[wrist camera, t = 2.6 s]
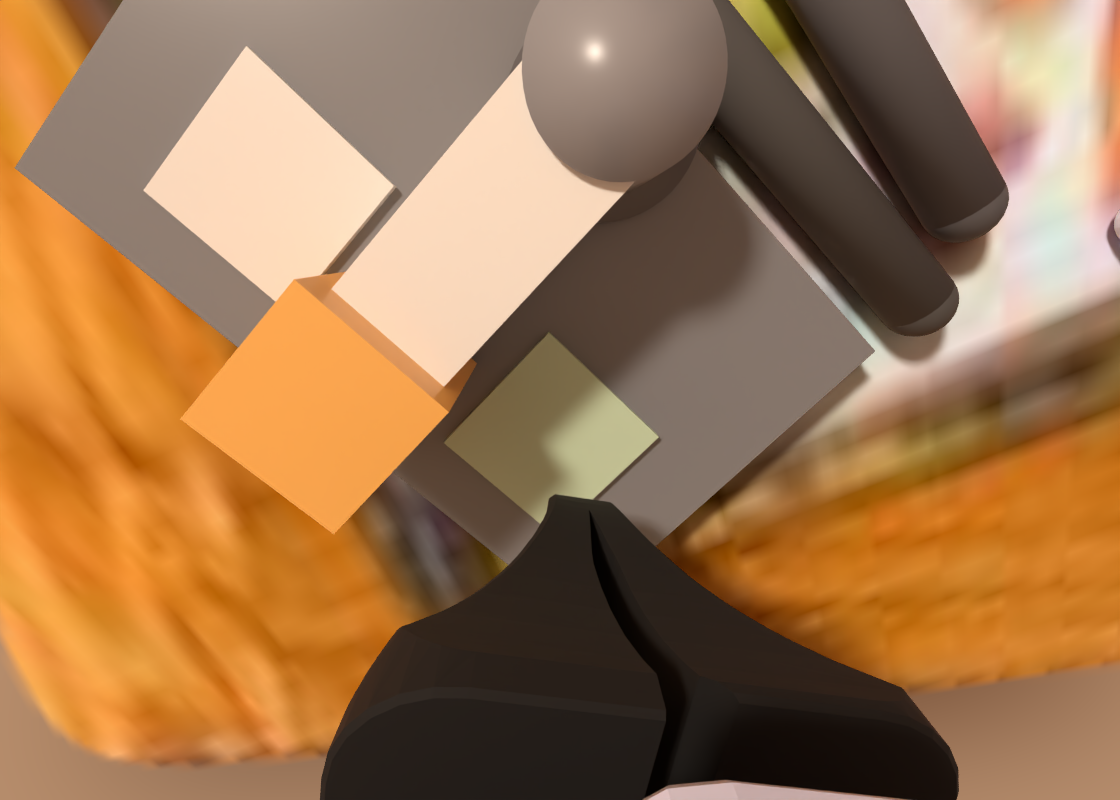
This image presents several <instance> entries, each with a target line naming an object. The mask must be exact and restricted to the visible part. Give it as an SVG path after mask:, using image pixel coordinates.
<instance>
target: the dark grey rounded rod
mask: <svg viewBox="0 0 1120 800" xmlns="http://www.w3.org/2000/svg"><path fill="white" fill-rule="evenodd" d="M785 1H786V2H787V4H788V5H789V7H790V9H791V10H792V12H793V14H794V15H795V17H796V19H797V20H798V22H799V24H800V25H801V27H802V28H803V30H804V32H805V33H806V35H807V37H808V38H809V40H810V42H811V43H812V45H813V47H814V48H815V50H816V52H817V53H818V55H819V56H820V58H821V60H822V61H823V63H824V65H825V66H826V68H827V70H828V71H829V73H830V75H831V76H832V78H833V79H834V81H835V83H836V84H837V86H838V88H839V89H840V91H841V93H842V94H843V96H844V98H845V99H846V101H847V102H848V104H849V106H850V107H851V109H852V111H853V112H854V114H855V116H856V117H857V119H858V121H859V122H860V124H861V126H862V127H863V129H864V130H865V132H866V134H867V135H868V137H869V139H870V140H871V142H872V144H873V145H874V147H875V149H876V150H877V152H878V153H879V155H880V157H881V158H882V160H883V162H884V163H885V165H886V167H887V168H888V170H889V172H890V173H891V175H892V176H893V178H894V180H895V181H896V183H897V185H898V186H899V188H900V190H901V191H902V193H903V195H904V196H905V198H906V199H907V201H908V203H909V204H910V206H911V208H912V209H913V211H914V213H915V214H916V216H917V218H918V219H919V221H920V223H921V224H922V226H923V227H924V229H925V230H926V231H927V232H928V233H929V234H930V235H931V236H933V237H934V238H937V239H939V240H941V241H945V242H952V243H953V242H965V241H969V240H973V239H976V238H978V237H980V236H982V235H984V234H986V233H987V232H988V231H990V230H991V229H992V228H993V227H995V226H996V225H997V224H998V222H999V221H1000V220H1001V218H1002V217H1003V215H1004V213H1005V211H1006V209H1007V206H1008V201H1009V193H1008V188H1007V185H1006V183H1005V181H1004V179H1003V177H1002V176H1001V174H1000V172H999V170H998V168H997V167H996V165H995V163H994V161H993V159H992V157H991V156H990V154H989V152H988V150H987V148H986V147H985V145H984V143H983V141H982V139H981V138H980V136H979V134H978V132H977V130H976V128H975V127H974V125H973V123H972V121H971V119H970V118H969V116H968V114H967V112H966V110H965V109H964V107H963V105H962V103H961V101H960V99H959V98H958V96H957V94H956V92H955V90H954V89H953V87H952V85H951V83H950V81H949V79H948V78H947V76H946V74H945V72H944V70H943V69H942V67H941V65H940V63H939V61H938V60H937V58H936V56H935V54H934V52H933V50H932V49H931V47H930V45H929V43H928V41H927V40H926V38H925V36H924V34H923V32H922V31H921V29H920V27H919V25H918V23H917V21H916V20H915V18H914V16H913V14H912V12H911V11H910V9H909V7H908V5H907V3H906V2H905V0H785Z"/></svg>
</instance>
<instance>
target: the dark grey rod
mask: <svg viewBox="0 0 1120 800" xmlns="http://www.w3.org/2000/svg"><path fill="white" fill-rule="evenodd" d="M713 2H714V4H715V6H716V8H717V10H718V13H719V15H720V18H721V21H722V24H723V28H724V32H725V36H726V43H727V52H728V69H727V78H726V85H725V89H724V94H723V98H722V101H721V104H720V106H719V109H718V112H717V114H716V116H715V118H714V120H713V122H712V124H713V125H714V127H715V128H716V129H717V130H718V131H719V132H720V134H721V135H722V136H723V137H724V138H725V139H726V140H727V142H728V143H729V144H730V145H731V146H732V147H733V149H734V150H735V151H736V152H737V153H738V154H739V156H740V157H741V158H742V159H743V160H744V161H745V163H746V164H747V165H748V166H749V167H750V168H751V170H752V171H753V172H754V173H755V174H756V175H757V177H758V178H759V179H760V180H761V181H762V182H763V184H764V185H765V186H766V187H767V188H768V189H769V191H770V192H771V193H772V194H773V195H774V196H775V198H776V199H777V200H778V201H779V202H780V203H781V205H782V206H783V207H784V208H785V209H786V210H787V212H788V213H789V214H790V215H791V216H792V217H793V218H794V220H795V221H796V222H797V223H798V224H799V225H800V227H801V228H802V229H803V230H804V231H805V232H806V234H807V235H808V236H809V237H810V238H811V239H812V241H813V242H814V243H815V244H816V245H817V246H818V248H819V249H820V250H821V251H822V252H823V253H824V255H825V256H826V257H827V258H828V259H829V260H830V262H831V263H832V264H833V265H834V266H835V267H836V269H837V270H838V271H839V272H840V273H841V274H842V276H843V277H844V278H845V279H846V280H847V281H848V283H849V284H850V285H851V286H852V287H853V288H854V290H855V291H856V292H857V293H858V294H859V295H860V296H861V298H862V299H863V300H864V301H865V302H866V303H867V305H868V306H869V307H870V308H871V309H872V310H873V312H874V313H875V314H876V315H877V316H878V317H879V319H880V320H881V321H882V322H883V323H884V324H885V325H886V326H887V327H888V328H889V329H890V330H892V331H894V332H896V333H898V334H901V335H904V336H923V335H928V334H931V333H933V332H936V331H938V330H939V329H941V328H942V327H944V326H945V325H946V324H947V323H948V322H949V321H950V320H951V319H952V317H953V316H954V315H955V313H956V310H957V307H958V304H959V293H958V289H957V287H956V285H955V283H954V281H953V280H952V279H951V277H950V276H949V275H948V274H947V272H946V271H945V270H944V269H943V267H942V266H941V265H940V264H939V262H938V261H937V260H936V259H935V257H934V256H933V255H932V254H931V252H930V251H929V250H928V249H927V247H926V246H925V245H924V244H923V242H922V241H921V240H920V239H919V237H918V236H917V235H916V234H915V232H914V231H913V230H912V229H911V227H910V226H909V225H908V224H907V222H906V221H905V220H904V219H903V217H902V216H901V215H900V214H899V212H898V211H897V210H896V209H895V207H894V206H893V205H892V204H891V202H890V201H889V200H888V199H887V197H886V196H885V195H884V194H883V192H882V191H881V190H880V189H879V187H878V186H877V185H876V184H875V182H874V181H873V180H872V179H871V177H870V176H869V175H868V174H867V172H866V171H865V170H864V169H863V167H862V166H861V165H860V164H859V162H858V161H857V160H856V159H855V157H854V156H853V155H852V154H851V152H850V151H849V150H848V149H847V147H846V146H845V145H844V144H843V142H842V141H841V140H840V139H839V137H838V136H837V135H836V134H835V132H834V131H833V130H832V129H831V127H830V126H829V125H828V124H827V122H826V121H825V120H824V119H823V117H822V116H821V115H820V114H819V112H818V111H817V110H816V109H815V107H814V106H813V105H812V104H811V102H810V101H809V100H808V99H807V97H806V96H805V95H804V94H803V92H802V91H801V90H800V89H799V87H798V86H797V85H796V84H795V82H794V81H793V80H792V79H791V77H790V76H789V75H788V74H787V72H786V71H785V70H784V69H783V67H782V66H781V65H780V64H779V62H778V61H777V60H776V59H775V57H774V56H773V55H772V54H771V52H770V51H769V50H768V49H767V47H766V46H765V45H764V44H763V42H762V41H761V40H760V39H759V37H758V36H757V35H756V34H755V32H754V31H753V30H752V29H751V27H750V26H749V25H748V24H747V22H746V21H745V20H744V19H743V17H742V16H741V15H740V14H739V12H738V11H737V10H736V9H735V7H734V6H733V5H732V4H731V2H730V1H729V0H713Z"/></svg>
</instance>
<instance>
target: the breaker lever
mask: <svg viewBox="0 0 1120 800" xmlns="http://www.w3.org/2000/svg"><path fill="white" fill-rule="evenodd" d="M727 69H728V52H727V43H726V36H725V32H724V28H723V24H722V21H721V18H720V15H719V13H718V10H717V8H716V6H715V4H714V2H713V0H540V1H539V3H538V5H537V6H536V8H535V10H534V12H533V15H532V17H531V20H530V22H529V25H528V28H527V32H526V36H525V40H524V46H523V53H522V61H521V62H520V63H519V65H518V66H517V67H516V68H515V69H514V71H513V72H512V73H511V74H510V75H509V77H508V78H507V79H506V80H505V81H504V83H503V84H502V85H501V86H500V87H499V89H498V90H497V91H496V92H495V93H494V95H493V96H492V97H491V98H490V99H489V101H488V102H487V103H486V104H485V105H484V107H483V108H482V109H481V110H480V111H479V113H478V114H477V115H476V116H475V117H474V119H473V120H472V121H471V122H470V123H469V125H468V126H467V127H466V128H465V129H464V131H463V132H462V133H461V134H460V135H459V137H458V138H457V139H456V140H455V141H454V143H453V144H452V145H451V146H450V147H449V149H448V150H447V151H446V152H445V153H444V155H443V156H442V157H441V158H440V159H439V161H438V162H437V163H436V164H435V165H434V167H433V168H432V169H431V170H430V171H429V173H428V174H427V175H426V176H425V177H424V179H423V180H422V181H421V182H420V183H419V184H418V186H417V187H416V188H415V189H414V190H413V192H412V193H411V194H410V195H409V196H408V198H407V199H406V200H405V201H404V202H403V204H402V205H401V206H400V207H399V208H398V210H397V211H396V212H395V213H394V214H393V216H392V217H391V218H390V219H389V220H388V222H387V223H386V224H385V225H384V226H383V228H382V229H381V230H380V231H379V232H378V234H377V235H376V236H375V237H374V238H373V240H372V241H371V242H370V243H369V244H368V246H367V247H366V248H365V249H364V250H363V252H362V253H361V254H360V255H359V256H358V258H357V259H356V260H355V261H354V262H353V264H352V265H351V266H350V267H349V268H348V270H347V271H346V272H340V273H333V274H326V275H319V276H313V277H306V278H299V279H294V280H293V281H292V282H291V284H290V285H289V286H288V287H287V288H286V290H285V291H284V292H283V293H282V295H281V296H280V297H279V298H278V300H277V301H276V302H275V303H274V304H273V306H272V307H271V308H270V309H269V311H268V312H267V313H266V314H265V316H264V317H263V318H262V319H261V320H260V322H259V323H258V324H257V325H256V327H255V328H254V329H253V330H252V331H251V333H250V334H249V335H248V336H247V338H246V339H245V340H244V341H243V343H242V344H241V345H240V346H239V347H238V349H237V350H236V351H235V352H234V354H233V355H232V356H231V357H230V359H229V360H228V361H227V362H226V363H225V365H224V366H223V367H222V368H221V370H220V371H219V372H218V373H217V375H216V376H215V377H214V378H213V379H212V381H211V382H210V383H209V384H208V386H207V387H206V388H205V389H204V391H203V392H202V393H201V394H200V395H199V397H198V398H197V399H196V400H195V402H194V403H193V404H192V405H191V407H190V408H189V409H188V410H187V411H186V413H185V414H184V415H183V416H182V418H181V420H182V421H184V422H185V423H186V424H188V425H189V426H190V427H192V428H193V429H194V430H196V431H197V432H198V433H200V434H201V435H202V436H204V437H205V438H206V439H208V440H209V441H210V442H212V443H213V444H214V445H216V446H217V447H218V448H220V449H221V450H222V451H224V452H225V453H226V454H228V455H229V456H230V457H232V458H233V459H234V460H236V461H237V462H238V463H240V464H241V465H242V466H244V467H245V468H246V469H248V470H249V471H250V472H252V473H253V474H254V475H256V476H257V477H258V478H260V479H261V480H262V481H264V482H265V483H266V484H268V485H269V486H270V487H271V488H273V489H274V490H275V491H277V492H278V493H279V494H281V495H282V496H283V497H285V498H286V499H287V500H289V501H290V502H291V503H293V504H294V505H295V506H297V507H298V508H299V509H301V510H302V511H303V512H305V513H306V514H307V515H309V516H310V517H311V518H313V519H314V520H315V521H317V522H318V523H319V524H321V525H322V526H323V527H325V528H326V529H327V530H329V531H330V532H331V533H333V534H334V533H335V532H336V531H337V530H338V529H339V528H340V527H341V526H342V525H343V524H344V523H345V522H346V521H347V520H348V519H349V517H350V516H351V515H352V514H353V513H354V512H355V511H356V510H357V509H358V508H359V507H360V506H361V505H362V504H363V503H364V502H365V501H366V499H367V498H368V497H369V496H370V495H371V494H372V493H373V492H374V491H375V490H376V489H377V488H378V487H379V486H380V485H381V484H382V483H383V482H384V480H385V479H386V478H387V477H388V476H389V475H390V474H391V473H392V472H393V471H394V470H395V469H396V468H397V467H398V466H399V465H400V464H401V462H402V461H403V460H404V459H405V458H406V457H407V456H408V455H409V454H410V453H411V452H412V451H413V450H414V449H415V448H416V447H417V446H418V444H419V443H420V442H421V441H422V440H423V439H424V438H425V437H426V436H427V435H428V434H429V433H430V432H431V431H432V430H433V429H434V428H435V427H436V425H437V424H438V423H439V422H440V421H441V420H442V419H443V418H444V417H445V416H446V415H447V414H448V413H449V411H450V410H451V408H452V406H453V404H454V403H455V401H456V399H457V398H458V396H459V394H460V392H461V391H462V389H463V387H464V385H465V384H466V382H467V380H468V378H469V377H470V375H471V373H472V372H473V370H474V368H475V366H476V365H477V363H476V362H475V361H474V360H473V359H472V358H471V357H472V356H473V355H474V354H475V353H476V352H477V351H478V350H479V348H480V347H481V346H482V345H483V344H484V343H485V342H486V341H487V340H488V339H489V338H490V337H491V336H492V335H493V333H494V332H495V331H496V330H497V329H498V328H499V327H500V326H501V325H502V324H503V323H504V322H505V321H506V320H507V318H508V317H509V316H510V315H511V314H512V313H513V312H514V311H515V310H516V309H517V308H518V307H519V306H520V304H521V303H522V302H523V301H524V300H525V299H526V298H527V297H528V296H529V295H530V294H531V293H532V292H533V291H534V289H535V288H536V287H537V286H538V285H539V284H540V283H541V282H542V281H543V280H544V279H545V278H546V277H547V275H548V274H549V273H550V272H551V271H552V270H553V269H554V268H555V267H556V266H557V265H558V264H559V263H560V262H561V260H562V259H563V258H564V257H565V256H566V255H567V254H568V253H569V252H570V251H571V250H572V249H573V248H574V246H575V245H576V244H577V243H578V242H579V241H580V240H581V239H582V238H583V237H584V236H585V235H586V234H587V233H588V231H589V230H590V229H591V228H592V227H593V226H594V225H595V224H596V223H597V222H598V221H599V220H600V219H601V217H602V216H603V215H604V214H605V213H606V212H607V211H608V210H609V209H610V208H611V207H612V206H613V205H614V204H615V202H616V201H617V200H618V199H619V198H620V197H621V196H622V195H623V194H624V193H626V192H629V191H632V190H633V189H635V188H637V187H639V186H641V185H642V184H644V183H646V182H647V181H649V180H651V179H652V178H654V177H655V176H657V175H659V174H660V173H662V172H664V171H665V170H667V169H669V168H670V167H672V166H673V165H675V164H676V163H678V162H679V161H680V160H682V159H683V158H684V157H685V156H686V155H688V154H689V153H690V152H691V151H692V150H693V149H694V148H695V147H696V145H697V144H698V143H699V142H700V141H701V139H702V138H703V137H704V135H705V134H706V132H707V131H708V129H709V128H710V126H711V124H712V122H713V120H714V118H715V116H716V114H717V112H718V109H719V106H720V104H721V101H722V98H723V94H724V89H725V85H726V78H727Z"/></svg>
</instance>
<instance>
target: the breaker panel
mask: <svg viewBox="0 0 1120 800" xmlns="http://www.w3.org/2000/svg"><path fill="white" fill-rule="evenodd" d="M539 1H540V0H123V1H122V3H121V4H120V6H119V8H118V9H117V11H116V12H115V14H114V15H113V17H112V18H111V20H110V21H109V23H108V25H107V26H106V28H105V29H104V31H103V32H102V34H101V35H100V37H99V38H98V40H97V42H96V43H95V45H94V46H93V48H92V49H91V51H90V52H89V54H88V55H87V57H86V59H85V60H84V62H83V63H82V65H81V66H80V68H79V69H78V71H77V72H76V74H75V76H74V77H73V79H72V80H71V82H70V83H69V85H68V86H67V88H66V89H65V91H64V93H63V94H62V96H61V97H60V99H59V100H58V102H57V103H56V105H55V106H54V108H53V109H52V111H51V113H50V114H49V116H48V117H47V119H46V120H45V122H44V123H43V125H42V126H41V128H40V130H39V131H38V133H37V134H36V136H35V137H34V139H33V140H32V142H31V143H30V145H29V147H28V148H27V150H26V151H25V153H24V154H23V156H22V157H21V159H20V160H19V162H18V164H17V165H16V167H15V169H17V170H18V171H19V172H20V173H22V174H23V175H24V176H25V177H27V178H28V179H29V180H30V181H32V182H33V183H34V184H35V185H37V186H38V187H39V188H40V189H42V190H43V191H44V192H45V193H47V194H48V195H49V196H50V197H52V198H53V199H54V200H55V201H57V202H58V203H59V204H60V205H62V206H63V207H64V208H65V209H66V210H68V211H69V212H70V213H71V214H73V215H74V216H75V217H76V218H78V219H79V220H80V221H81V222H83V223H84V224H85V225H86V226H88V227H89V228H90V229H91V230H93V231H94V232H95V233H96V234H98V235H99V236H100V237H101V238H103V239H104V240H105V241H106V242H108V243H109V244H110V245H111V246H113V247H114V248H115V249H116V250H117V251H119V252H120V253H121V254H122V255H124V256H125V257H126V258H127V259H129V260H130V261H131V262H132V263H134V264H135V265H136V266H137V267H139V268H140V269H141V270H142V271H144V272H145V273H146V274H147V275H149V276H150V277H151V278H152V279H154V280H155V281H156V282H157V283H159V284H160V285H161V286H162V287H164V288H165V289H166V290H167V291H168V292H170V293H171V294H172V295H173V296H175V297H176V298H177V299H178V300H180V301H181V302H182V303H183V304H185V305H186V306H187V307H188V308H190V309H191V310H192V311H193V312H195V313H196V314H197V315H198V316H200V317H201V318H202V319H203V320H205V321H206V322H207V323H208V324H210V325H211V326H212V327H213V328H215V329H216V330H217V331H218V332H219V333H221V334H222V335H223V336H224V337H226V338H227V339H228V340H229V341H231V342H232V343H233V344H234V345H236V346H237V347H239V346H240V345H241V344H242V343H243V341H244V340H245V339H246V338H247V336H248V335H249V334H250V333H251V331H252V330H253V329H254V328H255V327H256V325H257V324H258V323H259V322H260V320H261V319H262V318H263V317H264V316H265V314H266V313H267V312H268V311H269V309H270V308H271V307H272V306H273V304H274V303H275V302H276V301H277V300H278V298H279V297H280V296H281V295H282V293H283V292H284V291H285V290H286V288H287V287H288V286H289V285H290V284H291V282H292V281H293V280H294V279H299V278H306V277H313V276H319V275H326V274H333V273H340V272H346V271H347V270H348V268H349V267H350V266H351V265H352V264H353V262H354V261H355V260H356V259H357V258H358V256H359V255H360V254H361V253H362V252H363V250H364V249H365V248H366V247H367V246H368V244H369V243H370V242H371V241H372V240H373V238H374V237H375V236H376V235H377V234H378V232H379V231H380V230H381V229H382V228H383V226H384V225H385V224H386V223H387V222H388V220H389V219H390V218H391V217H392V216H393V214H394V213H395V212H396V211H397V210H398V208H399V207H400V206H401V205H402V204H403V202H404V201H405V200H406V199H407V198H408V196H409V195H410V194H411V193H412V192H413V190H414V189H415V188H416V187H417V186H418V184H419V183H420V182H421V181H422V180H423V179H424V177H425V176H426V175H427V174H428V173H429V171H430V170H431V169H432V168H433V167H434V165H435V164H436V163H437V162H438V161H439V159H440V158H441V157H442V156H443V155H444V153H445V152H446V151H447V150H448V149H449V147H450V146H451V145H452V144H453V143H454V141H455V140H456V139H457V138H458V137H459V135H460V134H461V133H462V132H463V131H464V129H465V128H466V127H467V126H468V125H469V123H470V122H471V121H472V120H473V119H474V117H475V116H476V115H477V114H478V113H479V111H480V110H481V109H482V108H483V107H484V105H485V104H486V103H487V102H488V101H489V99H490V98H491V97H492V96H493V95H494V93H495V92H496V91H497V90H498V89H499V87H500V86H501V85H502V84H503V83H504V81H505V80H506V79H507V78H508V77H509V75H510V74H511V73H512V72H513V71H514V69H515V68H516V67H517V66H518V65H519V63H520V62H521V61H522V53H523V46H524V40H525V36H526V32H527V28H528V25H529V22H530V20H531V17H532V15H533V12H534V10H535V8H536V6H537V5H538V3H539ZM698 145H699V143H698V144H697V145H696V147H695V148H694V149H693V150H692V151H691V152H690V153H689V154H688V155H686V156H685V157H684V158H683V159H682V160H680V161H679V162H678V163H676V164H675V165H673V166H672V167H670V168H669V169H667V170H665V171H664V172H662V173H660V174H659V175H657V176H655V177H654V178H652V179H651V180H649V181H647V182H646V183H644V184H642V185H641V186H639V187H637V188H635V189H633V190H632V191H629V192H626V193H624V194H623V195H622V196H621V197H620V198H619V199H618V200H617V201H616V202H615V204H614V205H613V206H612V207H611V208H610V209H609V210H608V211H607V212H606V213H605V214H604V215H603V216H602V217H601V219H600V220H599V221H598V222H597V223H596V224H595V225H594V226H593V227H592V228H591V229H590V230H589V231H588V233H587V234H586V235H585V236H584V237H583V238H582V239H581V240H580V241H579V242H578V243H577V244H576V245H575V246H574V248H573V249H572V250H571V251H570V252H569V253H568V254H567V255H566V256H565V257H564V258H563V259H562V260H561V262H560V263H559V264H558V265H557V266H556V267H555V268H554V269H553V270H552V271H551V272H550V273H549V274H548V275H547V277H546V278H545V279H544V280H543V281H542V282H541V283H540V284H539V285H538V286H537V287H536V288H535V289H534V291H533V292H532V293H531V294H530V295H529V296H528V297H527V298H526V299H525V300H524V301H523V302H522V303H521V304H520V306H519V307H518V308H517V309H516V310H515V311H514V312H513V313H512V314H511V315H510V316H509V317H508V318H507V320H506V321H505V322H504V323H503V324H502V325H501V326H500V327H499V328H498V329H497V330H496V331H495V332H494V333H493V335H492V336H491V337H490V338H489V339H488V340H487V341H486V342H485V343H484V344H483V345H482V346H481V347H480V348H479V350H478V351H477V352H476V353H475V354H474V355H473V356H472V357H471V358H472V359H473V360H474V361H475V362H476V363H477V365H476V366H475V368H474V370H473V372H472V373H471V375H470V377H469V378H468V380H467V382H466V384H465V385H464V387H463V389H462V391H461V392H460V394H459V396H458V398H457V399H456V401H455V403H454V404H453V406H452V408H451V410H450V411H449V413H448V414H447V415H446V416H445V417H444V418H443V419H442V420H441V421H440V422H439V423H438V424H437V425H436V427H435V428H434V429H433V430H432V431H431V432H430V433H429V434H428V435H427V436H426V437H425V438H424V439H423V440H422V441H421V442H420V443H419V444H418V446H417V447H416V448H415V449H414V450H413V451H412V452H411V453H410V454H409V455H408V456H407V457H406V458H405V459H404V460H403V461H402V462H401V464H400V465H399V466H398V467H397V468H396V469H395V470H394V471H393V472H394V473H395V474H396V475H397V476H399V477H400V478H401V479H402V480H404V481H405V482H406V483H407V484H409V485H410V486H411V487H412V488H414V489H415V490H416V491H417V492H419V493H420V494H421V495H422V496H424V497H425V498H426V499H427V500H428V501H430V502H431V503H432V504H433V505H435V506H436V507H437V508H438V509H440V510H441V511H442V512H443V513H445V514H446V515H447V516H448V517H450V518H451V519H452V520H453V521H455V522H456V523H457V524H458V525H460V526H461V527H462V528H463V529H465V530H466V531H467V532H468V533H470V534H471V535H472V536H473V537H475V538H476V539H477V540H478V541H479V542H481V543H482V544H483V545H484V546H486V547H487V548H488V549H489V550H491V551H492V552H493V553H494V554H496V555H497V556H498V557H499V558H501V559H502V560H503V561H504V562H506V563H507V564H508V565H509V564H510V563H511V562H512V561H513V560H514V559H515V558H516V557H517V556H518V554H519V553H520V552H521V551H522V550H523V548H524V547H525V546H526V544H527V543H528V542H529V540H530V539H531V538H532V537H533V535H534V534H535V532H536V530H537V529H538V527H539V525H540V524H541V522H542V520H543V519H544V517H545V514H546V512H547V506H548V501H549V498H550V497H552V496H553V495H555V494H558V495H565V496H572V497H578V498H585V499H592V500H599V501H606V502H611V503H612V504H614V505H615V506H616V507H617V508H618V509H619V510H620V511H621V512H622V513H623V514H624V515H625V516H626V517H627V518H628V519H629V520H630V522H631V523H632V524H633V525H634V526H635V527H636V528H637V529H638V530H639V531H640V532H641V533H642V534H643V535H644V536H645V537H646V538H647V539H648V540H649V541H650V542H651V543H652V544H653V545H654V546H656V545H658V544H659V543H660V542H661V541H662V540H663V539H664V538H665V537H667V536H668V535H669V534H670V533H671V532H672V531H673V530H674V529H676V528H677V527H678V526H679V525H680V524H681V523H682V522H683V521H685V520H686V519H687V518H688V517H689V516H690V515H691V514H692V513H694V512H695V511H696V510H697V509H698V508H699V507H700V506H701V505H703V504H704V503H705V502H706V501H707V500H708V499H709V498H710V497H712V496H713V495H714V494H715V493H716V492H717V491H718V490H719V489H721V488H722V487H723V486H724V485H725V484H726V483H727V482H728V481H730V480H731V479H732V478H733V477H734V476H735V475H736V474H738V473H739V472H740V471H741V470H742V469H743V468H744V467H745V466H747V465H748V464H749V463H750V462H751V461H752V460H753V459H754V458H756V457H757V456H758V455H759V454H760V453H761V452H762V451H763V450H765V449H766V448H767V447H768V446H769V445H770V444H771V443H772V442H774V441H775V440H776V439H777V438H778V437H779V436H780V435H781V434H783V433H784V432H785V431H786V430H787V429H788V428H789V427H790V426H792V425H793V424H794V423H795V422H796V421H797V420H798V419H799V418H801V417H802V416H803V415H804V414H805V413H806V412H807V411H808V410H810V409H811V408H812V407H813V406H814V405H815V404H816V403H817V402H819V401H820V400H821V399H822V398H823V397H824V396H825V395H826V394H828V393H829V392H830V391H831V390H832V389H833V388H834V387H835V386H837V385H838V384H839V383H840V382H841V381H842V380H843V379H844V378H846V377H847V376H848V375H849V374H850V373H851V372H852V371H853V370H855V369H856V368H857V367H858V366H859V365H860V364H861V363H862V362H864V361H865V360H866V359H867V358H868V357H869V356H870V355H871V354H873V353H874V352H875V350H874V349H873V348H872V347H871V346H870V345H869V343H868V342H867V341H866V340H865V339H864V338H863V337H862V335H861V334H860V333H859V332H858V331H857V330H856V329H855V327H854V326H853V325H852V324H851V323H850V322H849V321H848V320H847V318H846V317H845V316H844V315H843V314H842V313H841V312H840V310H839V309H838V308H837V307H836V306H835V305H834V304H833V302H832V301H831V300H830V299H829V298H828V297H827V296H826V294H825V293H824V292H823V291H822V290H821V289H820V288H819V286H818V285H817V284H816V283H815V282H814V281H813V280H812V278H811V277H810V276H809V275H808V274H807V273H806V272H805V271H804V269H803V268H802V267H801V266H800V265H799V264H798V263H797V261H796V260H795V259H794V258H793V257H792V256H791V255H790V253H789V252H788V251H787V250H786V249H785V248H784V247H783V245H782V244H781V243H780V242H779V241H778V240H777V239H776V237H775V236H774V235H773V234H772V233H771V232H770V231H769V229H768V228H767V227H766V226H765V225H764V224H763V223H762V222H761V220H760V219H759V218H758V217H757V216H756V215H755V214H754V212H753V211H752V210H751V209H750V208H749V207H748V206H747V204H746V203H745V202H744V201H743V200H742V199H741V198H740V196H739V195H738V194H737V193H736V192H735V191H734V190H733V188H732V187H731V186H730V185H729V184H728V183H727V182H726V180H725V179H724V178H723V177H722V176H721V175H720V174H719V173H718V171H717V170H716V169H715V168H714V167H713V166H712V165H711V163H710V162H709V161H708V160H707V159H706V158H705V157H704V155H703V154H702V153H701V152H700V151H699V150H698V149H697V148H698Z"/></svg>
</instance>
